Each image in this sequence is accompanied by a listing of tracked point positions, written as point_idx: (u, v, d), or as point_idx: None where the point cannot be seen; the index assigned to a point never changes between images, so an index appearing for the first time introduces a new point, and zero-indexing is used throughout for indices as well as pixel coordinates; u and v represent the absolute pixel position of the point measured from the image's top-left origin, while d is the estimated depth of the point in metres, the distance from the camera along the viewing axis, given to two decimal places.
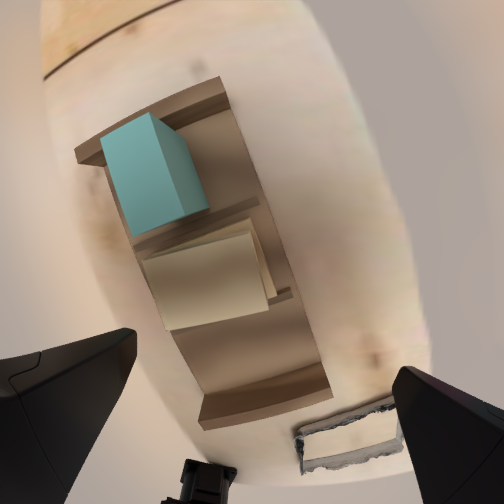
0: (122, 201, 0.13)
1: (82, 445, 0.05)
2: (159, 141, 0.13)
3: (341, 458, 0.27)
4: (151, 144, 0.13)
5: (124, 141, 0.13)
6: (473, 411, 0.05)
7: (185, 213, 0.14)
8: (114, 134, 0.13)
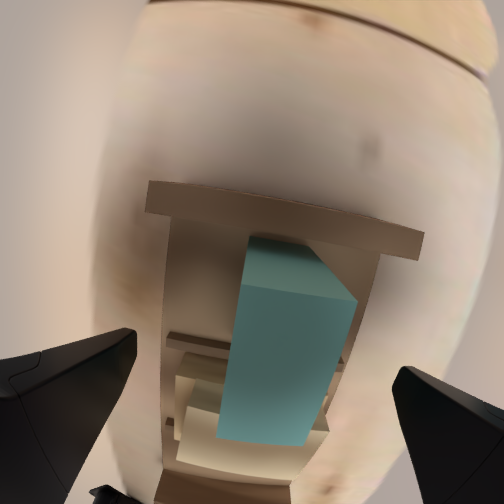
0: (226, 400, 0.08)
1: (82, 445, 0.05)
2: None
3: None
4: (326, 356, 0.07)
5: (288, 324, 0.07)
6: (473, 411, 0.05)
7: None
8: (275, 298, 0.07)
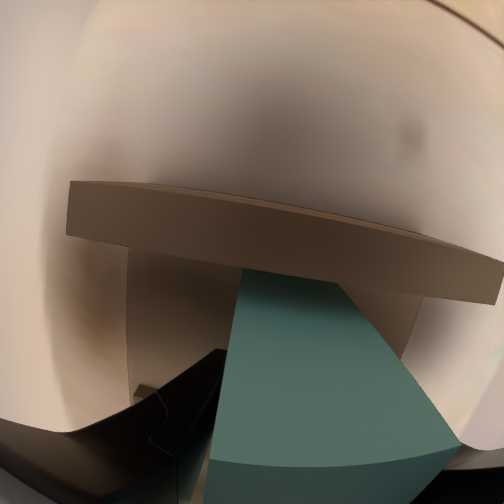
0: None
1: (194, 480, 0.05)
2: None
3: None
4: None
5: (319, 503, 0.02)
6: None
7: None
8: (297, 477, 0.02)
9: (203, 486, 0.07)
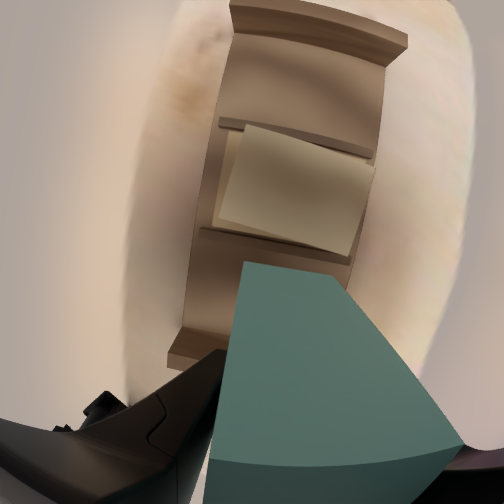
0: None
1: (194, 480, 0.05)
2: None
3: None
4: None
5: (321, 502, 0.02)
6: None
7: None
8: (298, 477, 0.02)
9: None
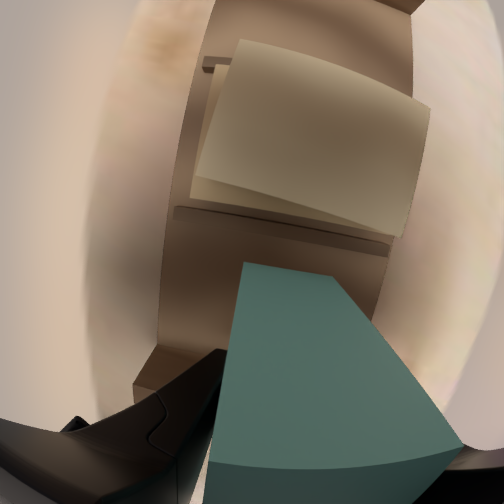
0: None
1: (194, 480, 0.05)
2: None
3: None
4: None
5: None
6: None
7: None
8: (298, 480, 0.02)
9: None
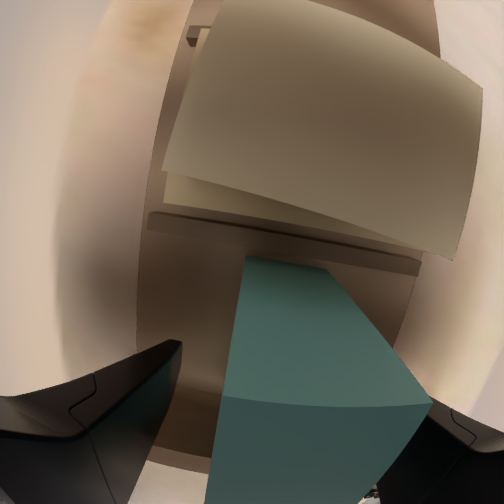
0: None
1: (136, 465, 0.05)
2: None
3: None
4: (367, 474, 0.03)
5: (311, 447, 0.03)
6: (434, 419, 0.05)
7: None
8: (292, 416, 0.03)
9: None
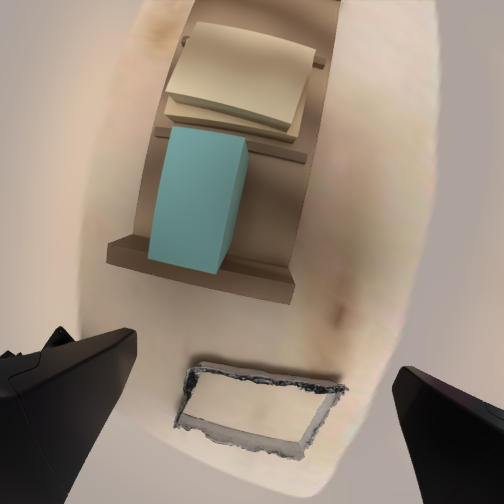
0: (157, 215, 0.11)
1: (82, 445, 0.05)
2: (235, 178, 0.11)
3: (228, 433, 0.23)
4: (225, 177, 0.11)
5: (198, 150, 0.11)
6: (473, 411, 0.05)
7: (216, 271, 0.12)
8: (191, 133, 0.11)
9: None
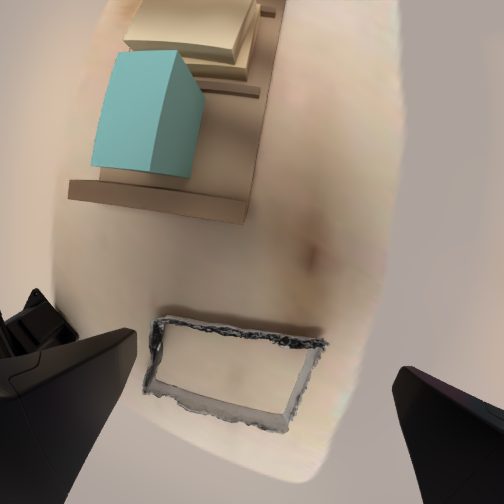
0: (101, 125, 0.11)
1: (82, 445, 0.05)
2: (169, 84, 0.10)
3: (203, 401, 0.23)
4: (159, 82, 0.10)
5: (138, 66, 0.10)
6: (473, 411, 0.05)
7: (150, 169, 0.11)
8: (133, 55, 0.10)
9: None
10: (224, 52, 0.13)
